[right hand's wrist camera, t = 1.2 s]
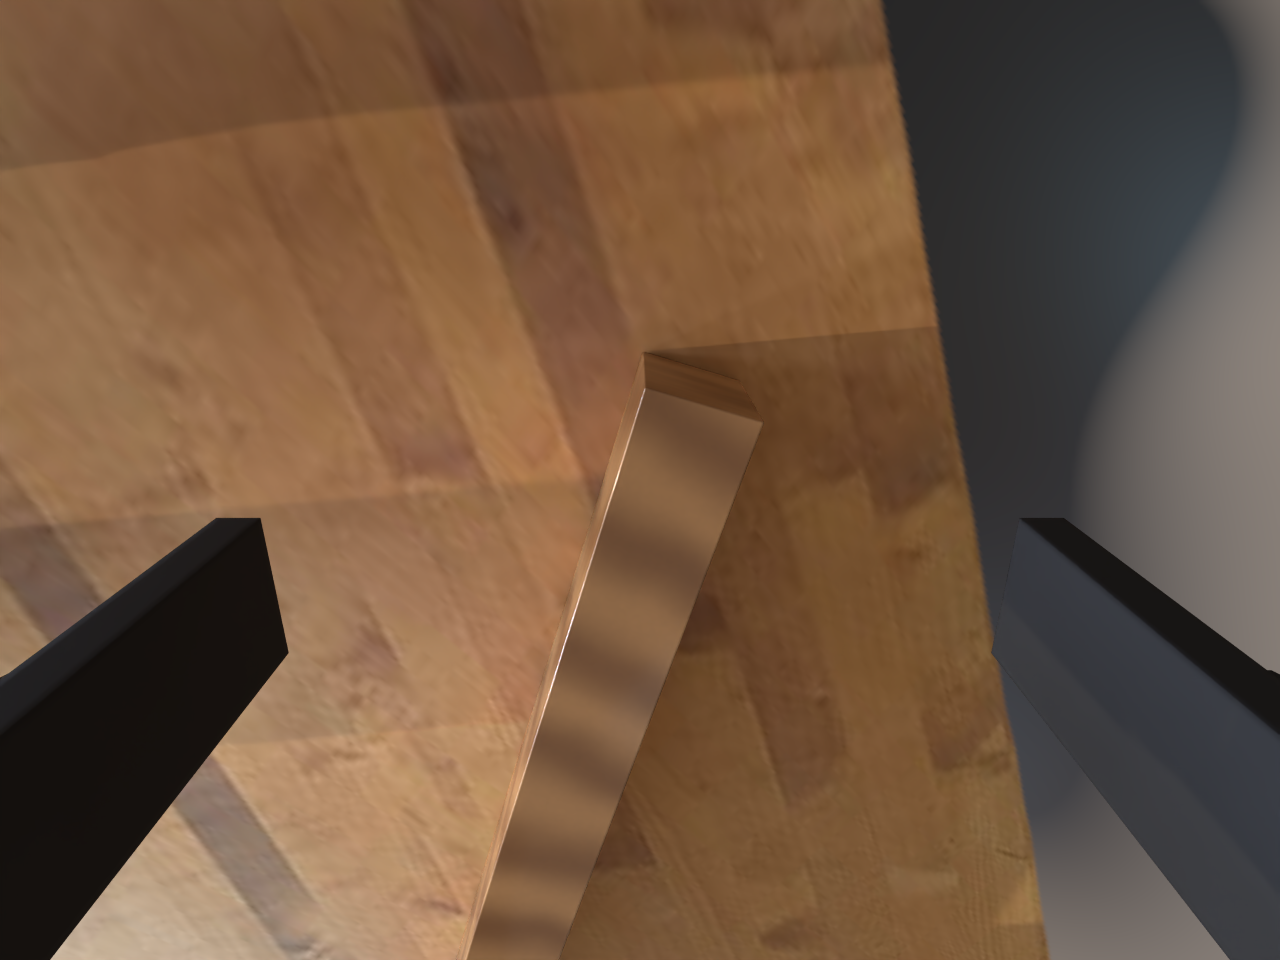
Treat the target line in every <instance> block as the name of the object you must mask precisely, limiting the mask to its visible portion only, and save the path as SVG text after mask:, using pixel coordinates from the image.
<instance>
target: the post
mask: <svg viewBox="0 0 1280 960" xmlns="http://www.w3.org/2000/svg"><path fill="white" fill-rule="evenodd" d="M763 424H764V422H763V420H762V419H761V417H760V415H759V413H758V412H757V410H756V408H755V406H754V405H753V403H752V401H751V400H750V398H749V396H748V394H747V393H746V391H745V389H744V387H743V386H742V384H741V382H740V381H739V380H736V379H732V378H729V377H726V376H722V375H719V374H716V373H712V372H709V371H706V370H702V369H699V368H696V367H693V366H689V365H686V364H683V363H679V362H676V361H673V360H669V359H666V358H663V357H659V356H656V355H653V354H649V353H646V352H643V353H642V356H641V359H640V362H639V365H638V369H637V372H636V375H635V378H634V382H633V385H632V388H631V391H630V395H629V398H628V401H627V404H626V408H625V411H624V414H623V417H622V421H621V424H620V427H619V430H618V434H617V437H616V440H615V444H614V447H613V450H612V453H611V457H610V460H609V463H608V466H607V470H606V473H605V476H604V479H603V483H602V486H601V489H600V492H599V496H598V499H597V502H596V505H595V509H594V512H593V515H592V518H591V522H590V525H589V528H588V532H587V535H586V538H585V541H584V545H583V548H582V551H581V554H580V558H579V561H578V564H577V567H576V571H575V574H574V577H573V580H572V584H571V587H570V590H569V593H568V597H567V600H566V603H565V606H564V610H563V613H562V616H561V620H560V623H559V626H558V629H557V633H556V636H555V639H554V642H553V646H552V649H551V652H550V655H549V659H548V662H547V665H546V668H545V672H544V675H543V678H542V681H541V685H540V688H539V691H538V695H537V698H536V701H535V704H534V708H533V711H532V714H531V717H530V721H529V724H528V727H527V730H526V734H525V737H524V740H523V743H522V747H521V750H520V753H519V756H518V760H517V763H516V766H515V769H514V773H513V776H512V779H511V783H510V786H509V789H508V792H507V796H506V799H505V802H504V805H503V809H502V812H501V815H500V818H499V822H498V825H497V828H496V831H495V835H494V838H493V841H492V844H491V848H490V851H489V854H488V857H487V861H486V864H485V867H484V871H483V874H482V877H481V880H480V884H479V887H478V890H477V893H476V897H475V900H474V903H473V906H472V910H471V913H470V916H469V919H468V923H467V926H466V929H465V932H464V936H463V939H462V942H461V945H460V949H459V952H458V955H457V959H456V960H559V958H560V956H561V953H562V950H563V948H564V945H565V942H566V940H567V937H568V935H569V932H570V929H571V927H572V924H573V921H574V919H575V916H576V914H577V911H578V908H579V906H580V903H581V901H582V898H583V895H584V893H585V890H586V887H587V885H588V882H589V880H590V877H591V874H592V872H593V869H594V866H595V864H596V861H597V859H598V856H599V853H600V851H601V848H602V846H603V843H604V840H605V838H606V835H607V832H608V830H609V827H610V825H611V822H612V819H613V817H614V814H615V812H616V809H617V806H618V804H619V801H620V798H621V796H622V793H623V791H624V788H625V785H626V783H627V780H628V777H629V775H630V772H631V770H632V767H633V764H634V762H635V759H636V757H637V754H638V751H639V749H640V746H641V743H642V741H643V738H644V736H645V733H646V730H647V728H648V725H649V723H650V720H651V717H652V715H653V712H654V709H655V707H656V704H657V702H658V699H659V696H660V694H661V691H662V688H663V686H664V683H665V681H666V678H667V675H668V673H669V670H670V668H671V665H672V662H673V660H674V657H675V654H676V652H677V649H678V647H679V644H680V641H681V639H682V636H683V634H684V631H685V628H686V626H687V623H688V620H689V618H690V615H691V613H692V610H693V607H694V605H695V602H696V599H697V597H698V594H699V592H700V589H701V586H702V584H703V581H704V579H705V576H706V573H707V571H708V568H709V565H710V563H711V560H712V558H713V555H714V552H715V550H716V547H717V544H718V542H719V539H720V537H721V534H722V531H723V529H724V526H725V524H726V521H727V518H728V516H729V513H730V510H731V508H732V505H733V503H734V500H735V497H736V495H737V492H738V490H739V487H740V484H741V482H742V479H743V476H744V474H745V471H746V469H747V466H748V463H749V461H750V458H751V455H752V453H753V450H754V448H755V445H756V442H757V440H758V437H759V435H760V432H761V429H762V427H763Z"/></svg>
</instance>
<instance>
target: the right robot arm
mask: <svg viewBox="0 0 1280 960" xmlns="http://www.w3.org/2000/svg"><path fill="white" fill-rule="evenodd" d="M288 653H289V652H288V648H287V643H286V638H285V633H284V628H283V624H282V619H281V614H280V609H279V604H278V600H277V595H276V590H275V585H274V580H273V576H272V571H271V566H270V561H269V556H268V552H267V547H266V542H265V537H264V532H263V528H262V523H261V518H216V519H214V520H213V521H212V522H210V523H209V524H208V525H206V526H205V527H204V528H202V529H201V530H200V531H198V532H197V533H196V534H194V535H193V536H192V537H190V538H189V539H188V540H186V541H185V542H184V543H182V544H181V545H180V546H178V547H177V548H176V549H174V550H173V551H172V552H170V553H169V554H168V555H166V556H165V557H164V558H162V559H161V560H160V561H158V562H157V563H156V564H154V565H153V566H152V567H150V568H149V569H148V570H146V571H145V572H143V573H142V574H141V575H139V576H138V577H137V578H135V579H134V580H133V581H131V582H130V583H129V584H127V585H126V586H125V587H123V588H122V589H121V590H119V591H118V592H117V593H115V594H114V595H113V596H111V597H110V598H109V599H107V600H106V601H105V602H103V603H102V604H101V605H99V606H98V607H97V608H95V609H94V610H93V611H91V612H90V613H89V614H87V615H86V616H85V617H83V618H82V619H81V620H79V621H78V622H77V623H75V624H74V625H73V626H71V627H70V628H69V629H67V630H66V631H65V632H63V633H62V634H61V635H59V636H58V637H57V638H55V639H54V640H53V641H51V642H50V643H49V644H47V645H46V646H45V647H43V648H42V649H41V650H39V651H38V652H37V653H35V654H34V655H33V656H31V657H30V658H29V659H27V660H26V661H25V662H23V663H22V664H21V665H19V666H18V667H17V668H15V669H14V670H13V671H11V672H10V673H8V674H6V675H4V676H2V677H0V960H50V959H51V958H52V957H53V955H54V954H55V953H56V952H57V950H58V949H59V948H60V946H61V945H62V944H63V943H64V941H65V940H66V939H67V937H68V936H69V935H70V934H71V932H72V931H73V930H74V928H75V927H76V926H77V925H78V923H79V922H80V921H81V919H82V918H83V917H84V916H85V914H86V913H87V912H88V910H89V909H90V908H91V907H92V905H93V904H94V903H95V901H96V900H97V899H98V898H99V896H100V895H101V894H102V892H103V891H104V890H105V888H106V887H107V886H108V885H109V883H110V882H111V881H112V879H113V878H114V877H115V876H116V874H117V873H118V872H119V870H120V869H121V868H122V867H123V865H124V864H125V863H126V861H127V860H128V859H129V858H130V856H131V855H132V854H133V852H134V851H135V850H136V849H137V847H138V846H139V845H140V843H141V842H142V841H143V840H144V838H145V837H146V836H147V834H148V833H149V832H150V831H151V829H152V828H153V827H154V825H155V824H156V823H157V822H158V820H159V819H160V818H161V816H162V815H163V814H164V813H165V811H166V810H167V809H168V807H169V806H170V805H171V804H172V802H173V801H174V800H175V798H176V797H177V796H178V795H179V793H180V792H181V791H182V789H183V788H184V787H185V786H186V784H187V783H188V782H189V780H190V779H191V778H192V777H193V775H194V774H195V773H196V771H197V770H198V769H199V768H200V766H201V765H202V764H203V762H204V761H205V760H206V759H207V757H208V756H209V755H210V753H211V752H212V751H213V750H214V748H215V747H216V746H217V744H218V743H219V742H220V741H221V739H222V738H223V737H224V735H225V734H226V733H227V732H228V730H229V729H230V728H231V726H232V725H233V724H234V723H235V721H236V720H237V719H238V717H239V716H240V715H241V714H242V712H243V711H244V710H245V708H246V707H247V706H248V704H249V703H250V702H251V701H252V699H253V698H254V697H255V695H256V694H257V693H258V692H259V690H260V689H261V688H262V686H263V685H264V684H265V683H266V681H267V680H268V679H269V677H270V676H271V675H272V674H273V672H274V671H275V670H276V668H277V667H278V666H279V665H280V663H281V662H282V661H283V659H284V658H285V657H286V656H287V654H288ZM991 653H992V654H993V656H994V657H995V658H996V659H997V661H998V662H999V663H1000V665H1001V666H1002V667H1003V668H1004V670H1005V671H1006V672H1007V674H1008V675H1009V676H1010V677H1011V679H1012V680H1013V681H1014V683H1015V684H1016V685H1017V686H1018V688H1019V689H1020V690H1021V692H1022V693H1023V694H1024V695H1025V697H1026V698H1027V699H1028V701H1029V702H1030V703H1031V704H1032V706H1033V707H1034V708H1035V710H1036V711H1037V712H1038V714H1039V715H1040V716H1041V717H1042V719H1043V720H1044V721H1045V722H1046V724H1047V725H1048V726H1049V728H1050V729H1051V730H1052V731H1053V733H1054V734H1055V735H1056V737H1057V738H1058V739H1059V741H1060V742H1061V743H1062V744H1063V746H1064V747H1065V748H1066V750H1067V751H1068V752H1069V753H1070V755H1071V756H1072V757H1073V759H1074V760H1075V761H1076V762H1077V764H1078V765H1079V766H1080V768H1081V769H1082V770H1083V771H1084V773H1085V774H1086V775H1087V777H1088V778H1089V779H1090V780H1091V782H1092V783H1093V784H1094V785H1095V787H1096V788H1097V789H1098V791H1099V792H1100V793H1101V795H1102V796H1103V797H1104V798H1105V800H1106V801H1107V802H1108V804H1109V805H1110V806H1111V807H1112V809H1113V810H1114V811H1115V813H1116V814H1117V815H1118V816H1119V818H1120V819H1121V820H1122V822H1123V823H1124V824H1125V825H1126V827H1127V828H1128V829H1129V831H1130V832H1131V833H1132V834H1133V836H1134V837H1135V838H1136V840H1137V841H1138V842H1139V843H1140V845H1141V846H1142V847H1143V849H1144V850H1145V851H1146V852H1147V854H1148V855H1149V856H1150V858H1151V859H1152V860H1153V861H1154V863H1155V864H1156V865H1157V867H1158V868H1159V869H1160V870H1161V872H1162V873H1163V874H1164V876H1165V877H1166V878H1167V879H1168V881H1169V882H1170V883H1171V885H1172V886H1173V887H1174V888H1175V890H1176V891H1177V892H1178V894H1179V895H1180V896H1181V898H1182V899H1183V900H1184V901H1185V903H1186V904H1187V905H1188V906H1189V908H1190V909H1191V910H1192V912H1193V913H1194V914H1195V916H1196V917H1197V918H1198V919H1199V921H1200V922H1201V923H1202V925H1203V926H1204V927H1205V928H1206V930H1207V931H1208V932H1209V934H1210V935H1211V936H1212V937H1213V939H1214V940H1215V941H1216V943H1217V944H1218V945H1219V946H1220V948H1221V949H1222V950H1223V952H1224V953H1225V954H1226V955H1227V957H1228V958H1229V959H1230V960H1280V674H1278V673H1276V672H1274V671H1272V670H1266V669H1265V668H1263V667H1262V666H1261V665H1259V664H1258V663H1257V662H1255V661H1254V660H1253V659H1251V658H1250V657H1249V656H1247V655H1246V654H1245V653H1243V652H1242V651H1241V650H1239V649H1238V648H1237V647H1235V646H1234V645H1233V644H1231V643H1230V642H1229V641H1227V640H1226V639H1225V638H1223V637H1222V636H1221V635H1219V634H1218V633H1217V632H1215V631H1214V630H1213V629H1211V628H1210V627H1209V626H1207V625H1206V624H1205V623H1203V622H1202V621H1201V620H1199V619H1198V618H1197V617H1195V616H1194V615H1193V614H1191V613H1190V612H1189V611H1187V610H1186V609H1185V608H1183V607H1182V606H1181V605H1179V604H1178V603H1177V602H1175V601H1174V600H1173V599H1171V598H1170V597H1169V596H1167V595H1166V594H1165V593H1163V592H1162V591H1161V590H1159V589H1158V588H1157V587H1155V586H1154V585H1153V584H1151V583H1150V582H1149V581H1147V580H1146V579H1145V578H1143V577H1142V576H1140V575H1139V574H1138V573H1137V572H1135V571H1134V570H1132V569H1131V568H1130V567H1128V566H1127V565H1126V564H1124V563H1123V562H1122V561H1120V560H1119V559H1118V558H1116V557H1115V556H1114V555H1112V554H1111V553H1110V552H1108V551H1107V550H1106V549H1104V548H1103V547H1102V546H1100V545H1099V544H1098V543H1096V542H1095V541H1094V540H1092V539H1091V538H1090V537H1088V536H1087V535H1086V534H1084V533H1083V532H1082V531H1080V530H1079V529H1078V528H1076V527H1075V526H1074V525H1072V524H1071V523H1070V522H1068V521H1067V520H1066V519H1064V518H1020V519H1019V523H1018V528H1017V532H1016V537H1015V542H1014V547H1013V552H1012V557H1011V561H1010V566H1009V571H1008V576H1007V580H1006V585H1005V590H1004V595H1003V600H1002V604H1001V609H1000V614H999V619H998V624H997V628H996V633H995V638H994V643H993V648H992V652H991Z"/></svg>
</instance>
